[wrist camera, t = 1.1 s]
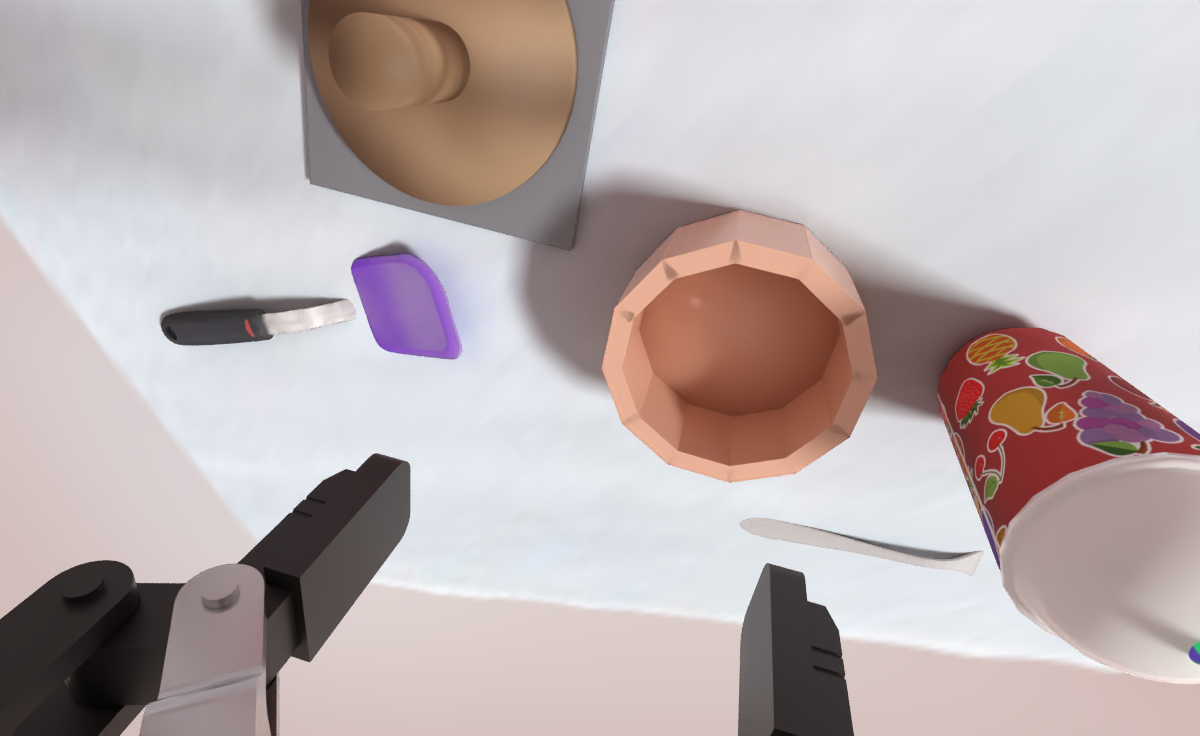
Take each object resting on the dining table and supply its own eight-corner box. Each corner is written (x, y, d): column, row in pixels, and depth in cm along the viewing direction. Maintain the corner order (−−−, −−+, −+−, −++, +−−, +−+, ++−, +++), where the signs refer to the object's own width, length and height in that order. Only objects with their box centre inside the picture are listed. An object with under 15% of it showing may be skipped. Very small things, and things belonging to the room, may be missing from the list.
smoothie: (926, 454, 35) (1090, 840, 18) (904, 324, 32) (1075, 636, 15) (1099, 429, 32) (1498, 861, 15) (1092, 283, 29) (1581, 612, 12)
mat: (302, -162, 28) (293, -166, 28) (631, -100, 27) (628, -103, 26) (316, 181, 36) (310, 183, 36) (572, 247, 34) (569, 250, 34)
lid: (314, -135, 28) (193, -188, 22) (602, -80, 27) (556, -120, 21) (325, 170, 35) (234, 193, 29) (555, 228, 34) (510, 266, 27)
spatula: (192, 366, 46) (165, 381, 44) (150, 280, 43) (118, 291, 41) (481, 345, 39) (465, 361, 37) (452, 241, 36) (433, 253, 34)
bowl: (654, 188, 32) (634, 214, 27) (894, 246, 31) (922, 285, 25) (609, 388, 38) (585, 440, 33) (808, 444, 37) (816, 508, 31)
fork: (701, 494, 40) (699, 511, 39) (1115, 560, 36) (1131, 583, 34) (697, 531, 42) (695, 549, 40) (1094, 599, 37) (1108, 622, 36)
